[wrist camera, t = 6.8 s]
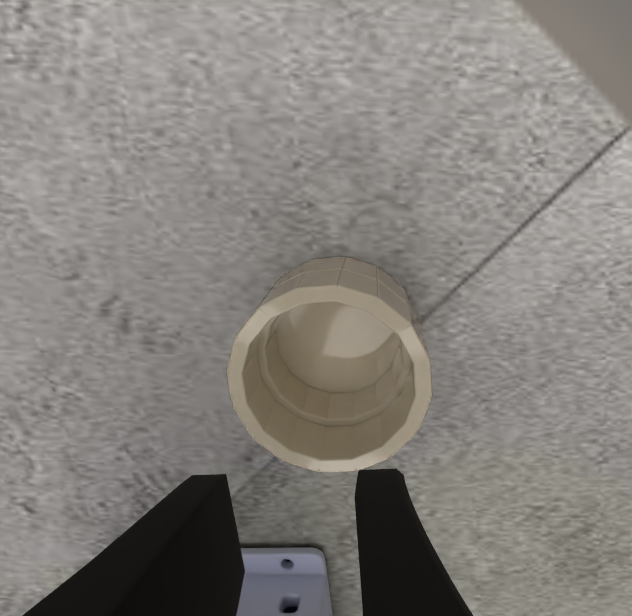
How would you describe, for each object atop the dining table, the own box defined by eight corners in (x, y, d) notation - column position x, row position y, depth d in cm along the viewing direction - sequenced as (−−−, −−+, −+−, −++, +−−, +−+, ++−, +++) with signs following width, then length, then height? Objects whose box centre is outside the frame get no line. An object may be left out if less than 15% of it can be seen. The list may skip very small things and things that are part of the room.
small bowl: (412, 247, 16) (426, 277, 12) (422, 398, 18) (436, 469, 14) (249, 262, 17) (211, 295, 13) (272, 406, 18) (244, 475, 14)
